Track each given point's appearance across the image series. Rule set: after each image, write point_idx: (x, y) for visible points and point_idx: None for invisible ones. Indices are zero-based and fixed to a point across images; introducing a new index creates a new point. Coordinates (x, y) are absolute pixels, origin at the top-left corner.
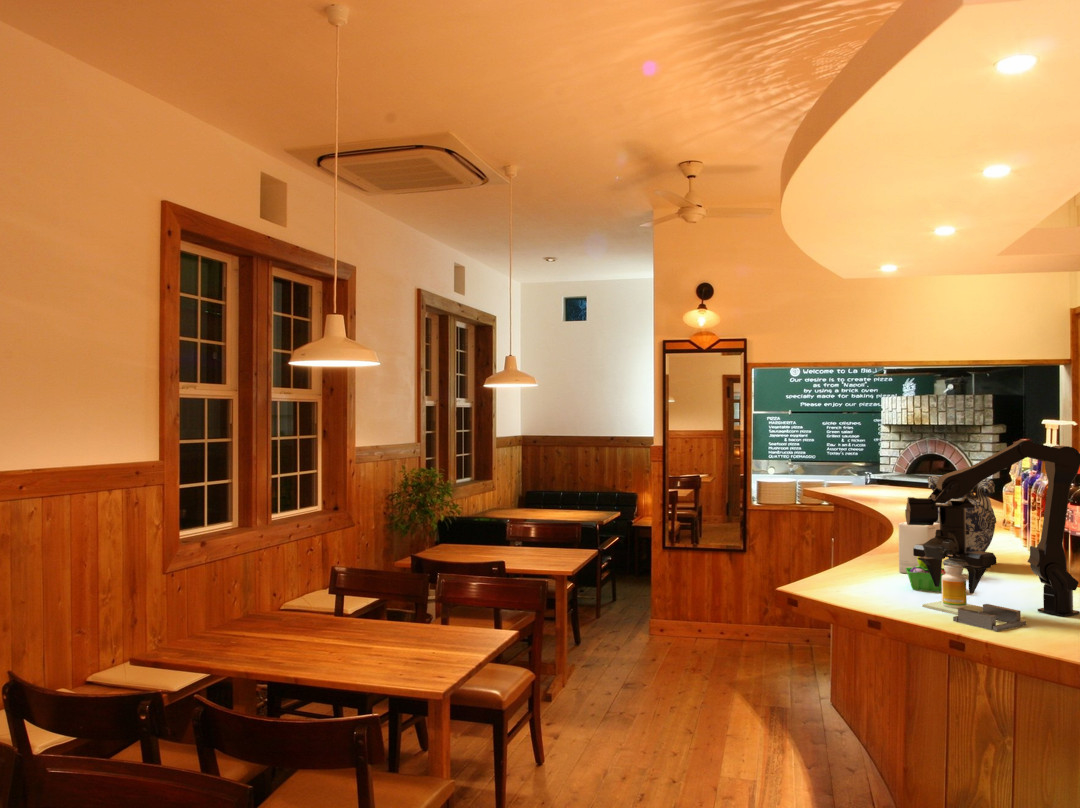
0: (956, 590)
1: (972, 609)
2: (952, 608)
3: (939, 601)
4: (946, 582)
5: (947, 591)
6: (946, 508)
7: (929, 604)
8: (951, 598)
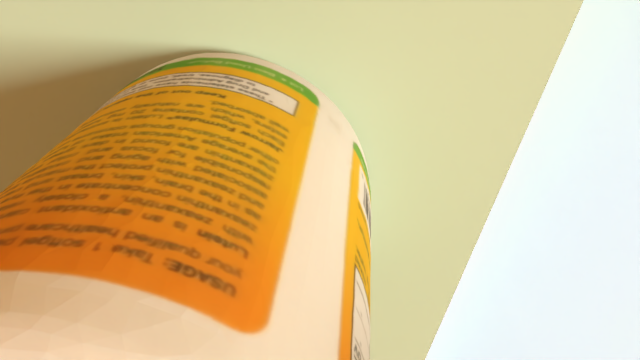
0: (10, 186)
1: (17, 149)
2: (181, 38)
3: (454, 283)
4: (129, 251)
5: (182, 141)
6: None
7: (499, 51)
8: (153, 95)
